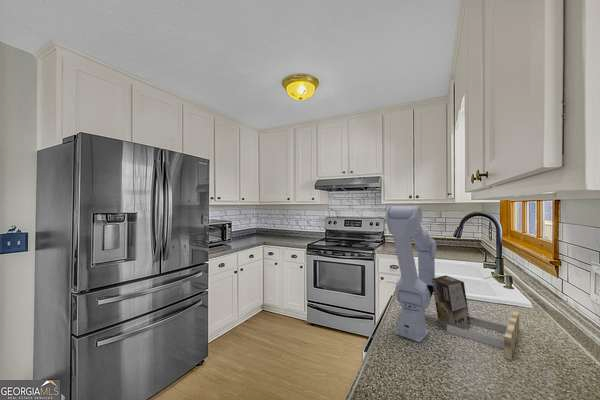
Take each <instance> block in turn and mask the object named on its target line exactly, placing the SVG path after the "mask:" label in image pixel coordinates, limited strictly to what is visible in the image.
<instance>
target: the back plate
mask: <svg viewBox="0 0 600 400" xmlns="http://www.w3.org/2000/svg"><path fill="white" fill-rule="evenodd" d="M507 325H508V327H507V330H506V333H504V335H503V339H504V349H503V350H504V351H503V353H504V355H503V356H504V359H506V360H510V361H512V360H513V355H514V351H515V348H516V344H517V341H518V336H519V334H520V312H518V311H515V310H513V311H512V314H511V316H510V319H509V321H508V324H507Z"/></svg>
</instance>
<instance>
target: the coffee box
mask: <svg viewBox="0 0 600 400" xmlns="http://www.w3.org/2000/svg"><path fill="white" fill-rule="evenodd" d="M432 283H434V286H433V291H434V292H433V296H434V297H433V298H434V303H435V308H436V314H437V315H436V316H437V321H438V322H439V323H441V324H443V325H444V326H446V327H447V324H448V323H449V324H452V325H456V326H459V327H463V328H466V329H471V328H472V327H471V324H470V319H469V316H470V313H469V307H468V301H467V294H466V288H465V281H462V280H460V279H457V278H454V277H451V276H449V275H442V276H436V277H435V278H433V279H432Z"/></svg>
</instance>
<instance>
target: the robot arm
mask: <svg viewBox="0 0 600 400" xmlns="http://www.w3.org/2000/svg"><path fill="white" fill-rule="evenodd" d="M385 211H386V212H385V222H386V228H387V231H388V233H389V234H390V235H392V239H393V243H394V248H395V252H396V257H397V261H398V262H397V263H398V266H399V271H400V275H401V278H399V279H398V280H397V282H396V284H395V298H396V300H397V302H399V306H401V310H400V312H399V313H398V315H397V330H396V331H395V335H397V336H401V337H403V338H406V339H409V340H412V341H414V342H417V343H421V342H422V341H423V340H424V339H425V337H427V336H428V335H429V333H430V332H431V331H430V330H429V329H427V328H426V313H425V312H426V309H427V308H429V307H430V305H431V301H432V296H433V295H434V291H433V286H434V283H432V279H433V278H436V274H435V273H436V272H435V271H436V268H435V266H436V265H435V262H436V261H435V258H436V256H437V255H436V254H437V240H435V239H434V238H432V237H431V235H430V233H429V232H428V230H427V229H426V228H425V227H424V226H422V220H423V211H422V208H421V207H420V206H419V205H388V207H387V208H386V210H385ZM411 238H412V240H413V241H414V247H415V251H416V252H417V264H418V265H417V266H418V269H417V266H416V261H415V256H414V250H413V246H412V241H411Z"/></svg>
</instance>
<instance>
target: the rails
mask: <svg viewBox="0 0 600 400" xmlns="http://www.w3.org/2000/svg"><path fill="white" fill-rule="evenodd" d="M469 319H470V325H473V326H476V327H479V328H484V329H487V330H491V331H493V332H494V331H495V332H499V333H501V334H505V333H506V330H507V327H508V324H504V323H500V322H497V321H491V320H488V319H484V318H480V317H477V316H472V315H469ZM446 332H447V333H449V334H453V335H456V336H458V337H459V336H460V337H463V338H466V339H468V340H472V341H475V342H479V343H482V344H484V345H485V344H486V345H489V346H492V347H495V348H498V349H502V350H504V338H501V337H497V336H493V335H490V334H486V333H482V332H480V331H476V330H473V329H471V328H469V329H466V328H463V327H459V326H456V325H452V324H449V323H448V324H447V326H446Z"/></svg>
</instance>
